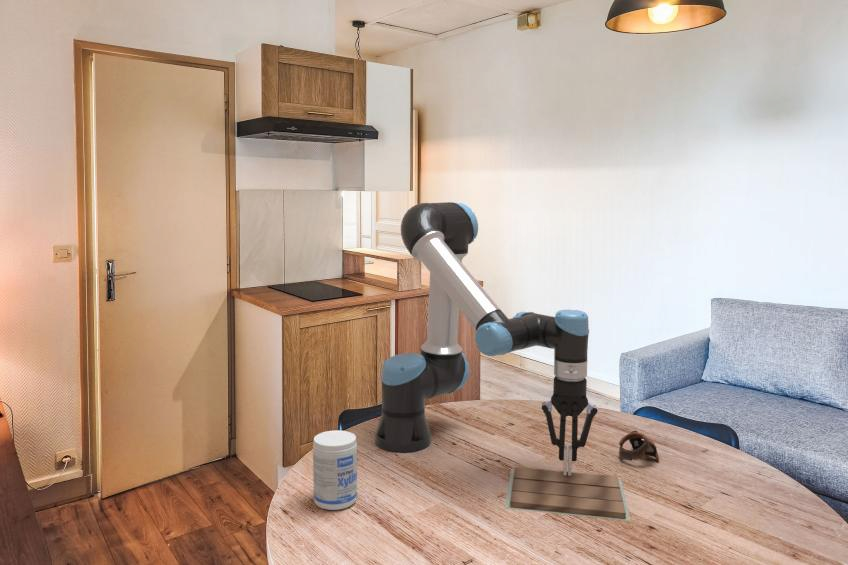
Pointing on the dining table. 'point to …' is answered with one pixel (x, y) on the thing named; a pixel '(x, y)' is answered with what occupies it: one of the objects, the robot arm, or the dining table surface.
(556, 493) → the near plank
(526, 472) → the far plank
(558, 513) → the underlay mat
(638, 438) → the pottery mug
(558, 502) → the laid strip
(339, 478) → the supplement tub
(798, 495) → the dining table surface
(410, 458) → the dining table surface
